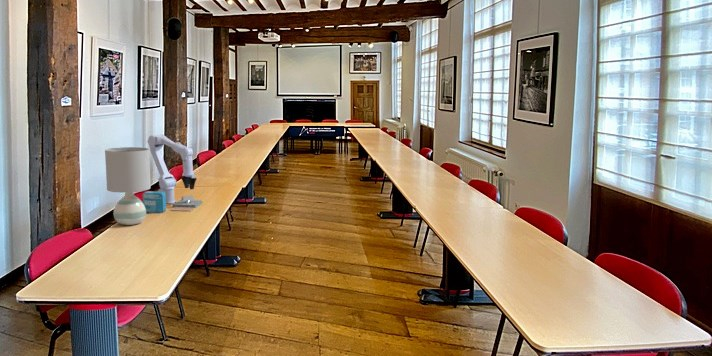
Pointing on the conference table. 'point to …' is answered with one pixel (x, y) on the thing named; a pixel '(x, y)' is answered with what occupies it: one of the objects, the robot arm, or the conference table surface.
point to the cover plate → (192, 203)
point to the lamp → (128, 181)
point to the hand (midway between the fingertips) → (189, 188)
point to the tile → (182, 209)
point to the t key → (187, 198)
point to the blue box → (154, 202)
